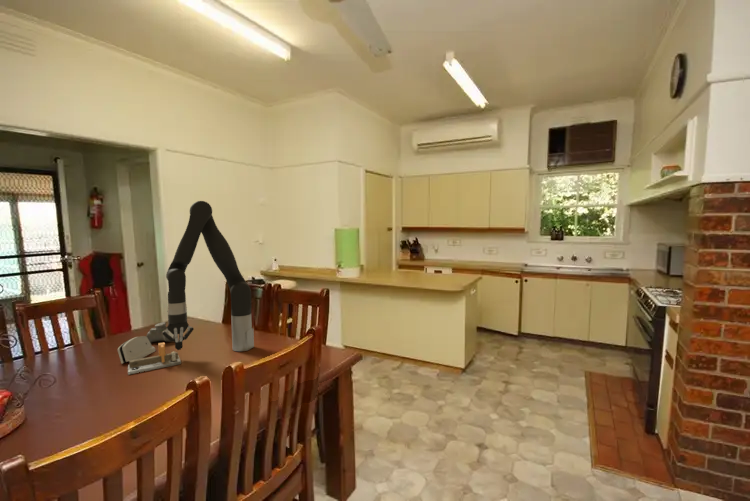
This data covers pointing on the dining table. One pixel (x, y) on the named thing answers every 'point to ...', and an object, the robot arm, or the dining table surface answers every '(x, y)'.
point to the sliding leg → (162, 350)
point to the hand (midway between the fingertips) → (179, 349)
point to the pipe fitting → (158, 333)
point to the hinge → (135, 349)
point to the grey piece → (153, 363)
